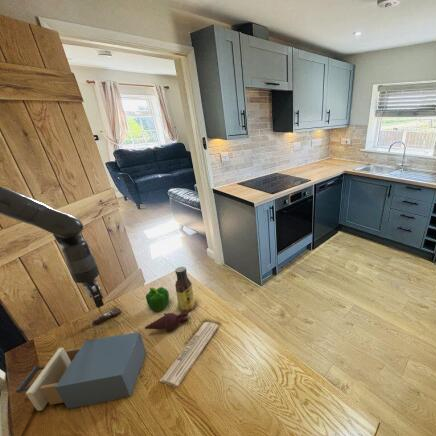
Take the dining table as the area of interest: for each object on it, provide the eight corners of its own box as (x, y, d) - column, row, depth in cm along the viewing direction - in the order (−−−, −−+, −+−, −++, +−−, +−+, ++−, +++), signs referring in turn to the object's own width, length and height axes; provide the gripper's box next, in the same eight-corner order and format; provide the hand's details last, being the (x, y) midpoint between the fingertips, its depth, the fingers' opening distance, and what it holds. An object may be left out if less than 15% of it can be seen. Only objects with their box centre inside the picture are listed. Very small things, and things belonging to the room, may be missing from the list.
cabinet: (67, 409, 67) (54, 387, 63) (94, 360, 80) (85, 340, 76) (130, 396, 70) (121, 374, 66) (146, 351, 84) (139, 331, 80)
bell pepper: (174, 304, 104) (170, 286, 100) (156, 316, 98) (151, 298, 94) (163, 297, 108) (159, 279, 104) (145, 308, 102) (140, 290, 98)
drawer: (14, 415, 64) (0, 398, 61) (48, 368, 77) (38, 351, 73) (97, 398, 69) (89, 381, 66) (118, 356, 81) (111, 339, 78)
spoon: (94, 327, 92) (92, 323, 92) (91, 323, 94) (90, 319, 93) (122, 313, 99) (121, 309, 98) (119, 309, 101) (118, 305, 100)
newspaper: (178, 387, 73) (177, 384, 72) (158, 381, 74) (157, 377, 74) (218, 327, 94) (218, 324, 93) (203, 323, 95) (202, 320, 95)
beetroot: (143, 331, 84) (189, 320, 91) (143, 313, 89) (186, 303, 96) (145, 342, 87) (189, 329, 94) (145, 324, 93) (187, 313, 100)
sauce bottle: (191, 313, 100) (184, 274, 92) (177, 313, 100) (168, 274, 92) (197, 302, 106) (191, 265, 98) (184, 302, 106) (176, 264, 98)
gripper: (64, 263, 87) (80, 298, 94) (74, 279, 79) (90, 316, 85) (90, 255, 92) (102, 288, 99) (101, 269, 84) (114, 304, 91)
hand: (97, 301), depth 92 cm, fingers open, 8 cm apart
